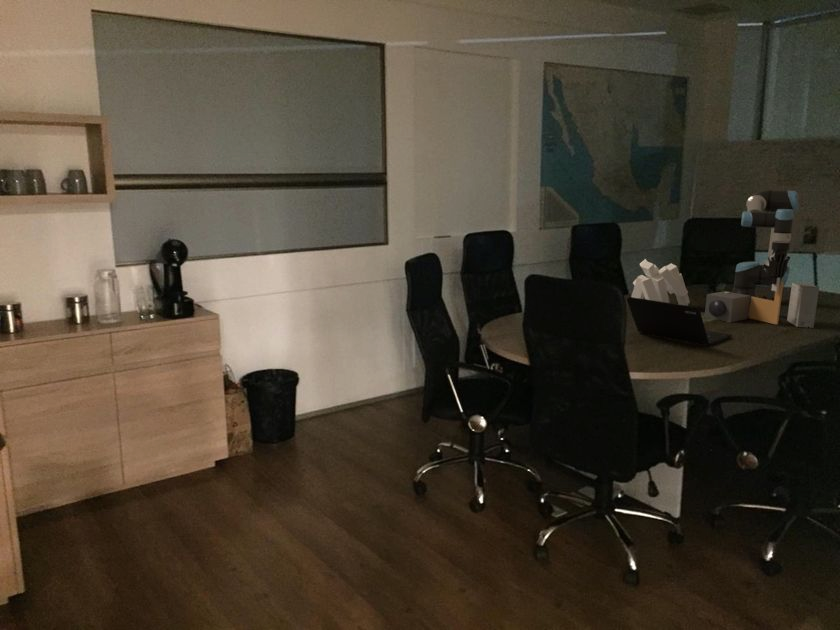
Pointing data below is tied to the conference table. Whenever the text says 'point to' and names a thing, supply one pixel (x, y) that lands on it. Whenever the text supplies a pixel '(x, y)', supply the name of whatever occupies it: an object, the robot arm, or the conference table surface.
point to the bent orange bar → (766, 307)
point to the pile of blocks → (660, 284)
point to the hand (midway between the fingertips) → (774, 290)
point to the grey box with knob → (727, 306)
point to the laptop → (672, 321)
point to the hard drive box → (803, 304)
